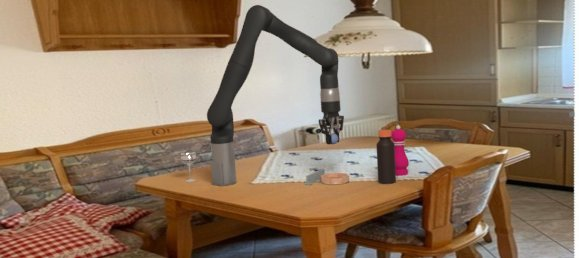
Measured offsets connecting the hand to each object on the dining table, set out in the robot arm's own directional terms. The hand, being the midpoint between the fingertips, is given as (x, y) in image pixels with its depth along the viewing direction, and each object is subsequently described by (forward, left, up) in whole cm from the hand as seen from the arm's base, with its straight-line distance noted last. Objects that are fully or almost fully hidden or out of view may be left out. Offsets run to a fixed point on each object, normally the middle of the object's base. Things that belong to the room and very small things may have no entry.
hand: (332, 143), depth 224 cm
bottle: (+8, -19, -16) cm, 26 cm away
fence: (-2, +8, -15) cm, 18 cm away
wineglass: (-25, +59, -16) cm, 66 cm away
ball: (0, 0, 0) cm, 0 cm away
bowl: (0, 0, -15) cm, 15 cm away
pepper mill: (+23, -16, -16) cm, 32 cm away
